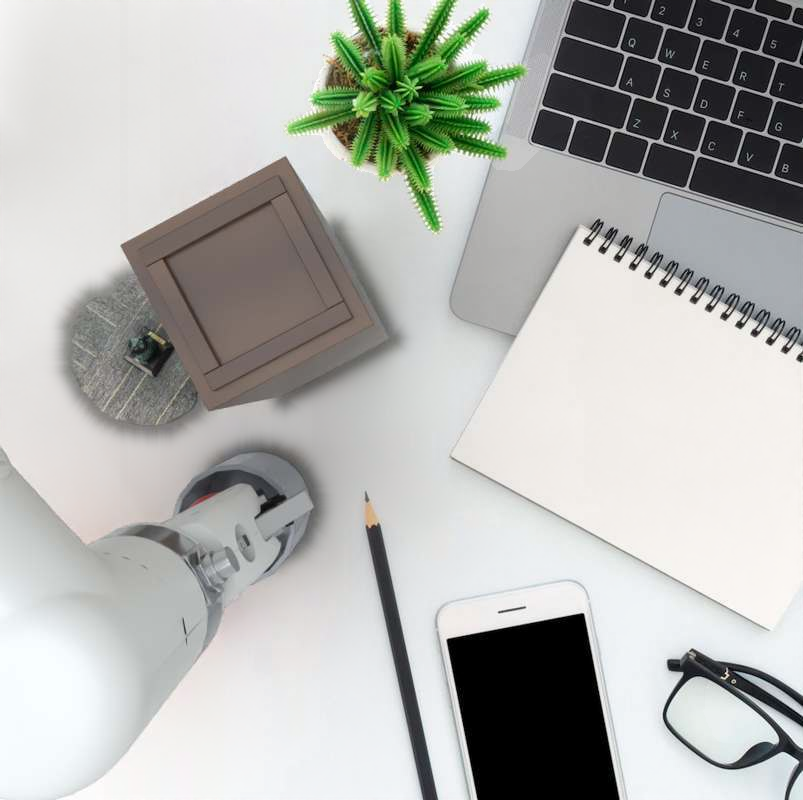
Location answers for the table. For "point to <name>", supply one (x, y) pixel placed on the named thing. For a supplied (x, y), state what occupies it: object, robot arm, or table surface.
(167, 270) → the crate
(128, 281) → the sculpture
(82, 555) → the robot arm
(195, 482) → the steel cup
